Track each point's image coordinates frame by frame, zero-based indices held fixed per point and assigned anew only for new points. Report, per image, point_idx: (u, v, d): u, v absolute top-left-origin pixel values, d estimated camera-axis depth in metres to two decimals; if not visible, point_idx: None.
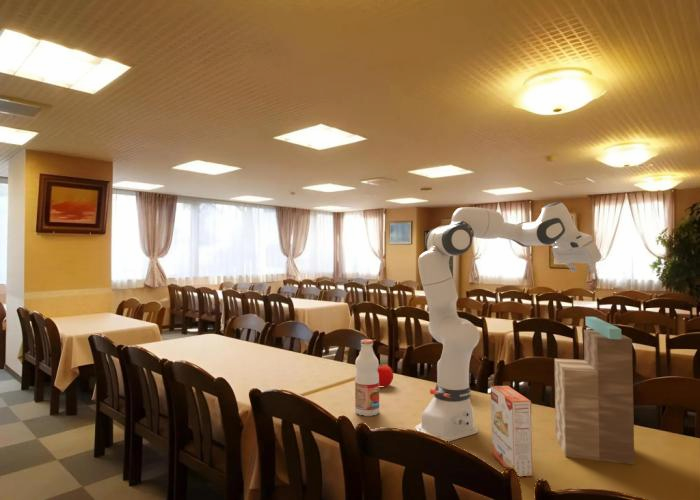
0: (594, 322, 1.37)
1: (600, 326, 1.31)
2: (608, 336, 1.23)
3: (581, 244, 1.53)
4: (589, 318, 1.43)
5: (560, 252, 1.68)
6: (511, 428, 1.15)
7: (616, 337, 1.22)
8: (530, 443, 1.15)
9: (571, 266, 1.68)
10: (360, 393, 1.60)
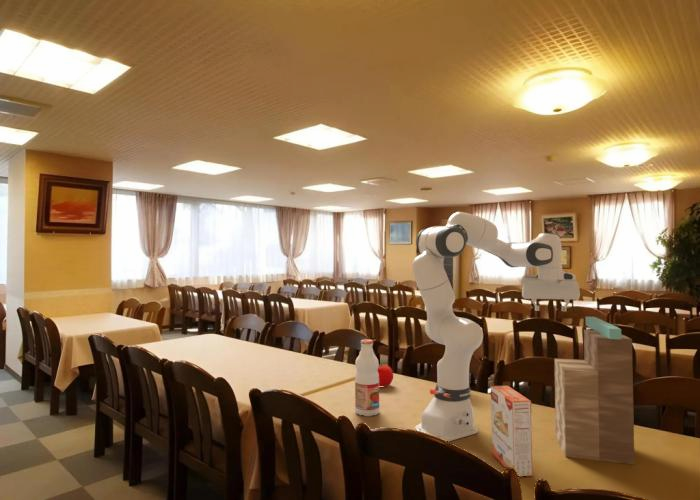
0: (594, 322, 1.37)
1: (600, 326, 1.31)
2: (608, 336, 1.23)
3: (575, 277, 1.57)
4: (589, 318, 1.43)
5: (534, 286, 1.63)
6: (511, 428, 1.15)
7: (616, 337, 1.22)
8: (530, 443, 1.15)
9: None
10: (360, 393, 1.60)
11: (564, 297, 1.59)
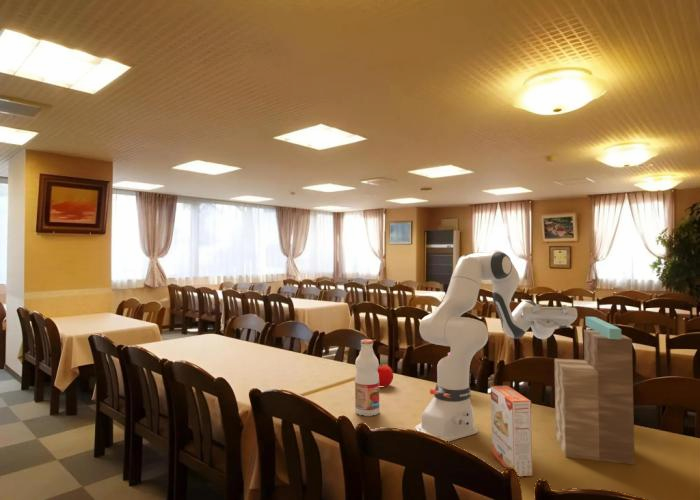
0: (594, 322, 1.37)
1: (600, 326, 1.31)
2: (608, 336, 1.23)
3: None
4: (589, 318, 1.43)
5: None
6: (511, 428, 1.15)
7: (616, 337, 1.22)
8: (530, 443, 1.15)
9: None
10: (360, 393, 1.60)
11: None
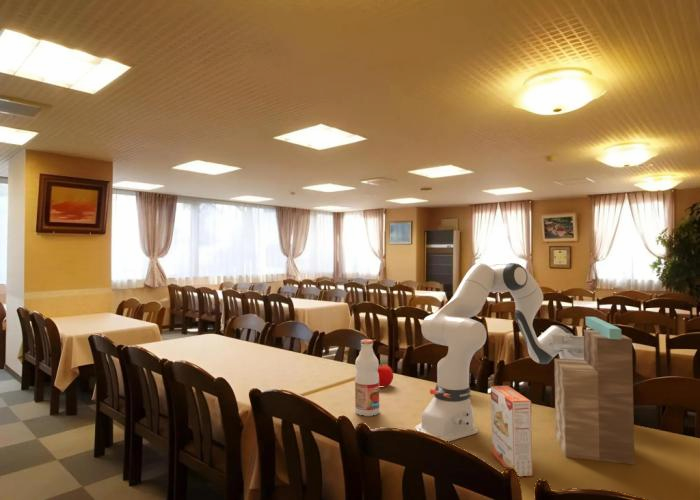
0: (594, 322, 1.37)
1: (600, 326, 1.31)
2: (608, 336, 1.23)
3: None
4: (589, 318, 1.43)
5: None
6: (511, 428, 1.15)
7: (616, 337, 1.22)
8: (530, 443, 1.15)
9: None
10: (360, 393, 1.60)
11: None
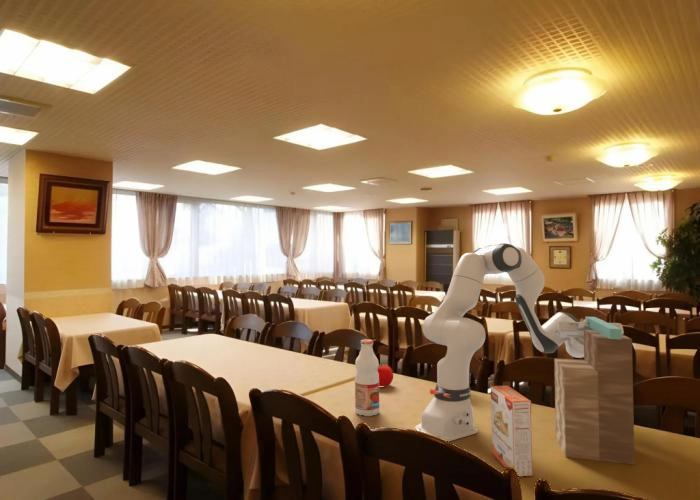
0: (594, 322, 1.37)
1: (600, 326, 1.31)
2: (608, 336, 1.23)
3: None
4: (589, 318, 1.43)
5: None
6: (511, 428, 1.15)
7: (616, 337, 1.22)
8: (530, 443, 1.15)
9: None
10: (360, 393, 1.60)
11: None
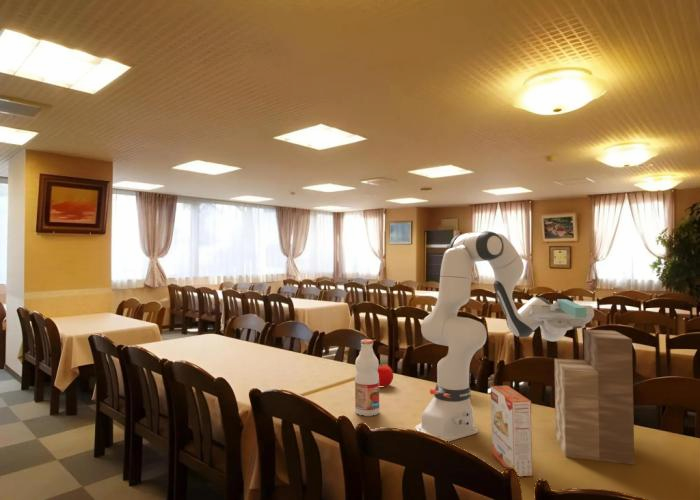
0: (564, 303, 1.39)
1: (568, 306, 1.33)
2: (574, 315, 1.26)
3: None
4: (560, 300, 1.45)
5: None
6: (511, 428, 1.15)
7: (581, 316, 1.24)
8: (530, 443, 1.15)
9: None
10: (360, 393, 1.60)
11: None
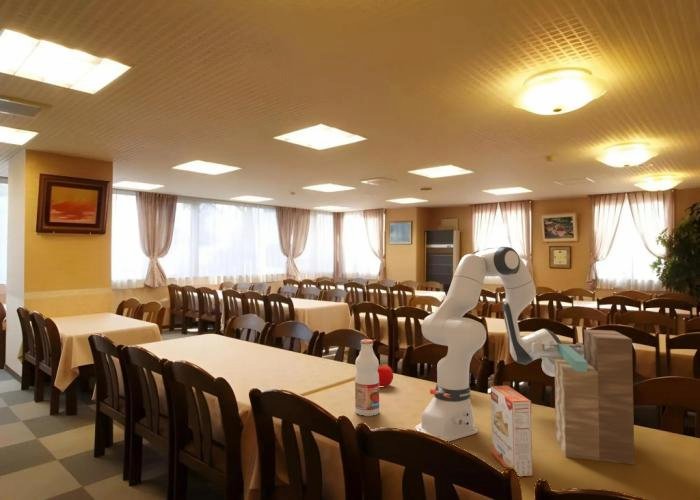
0: (564, 351, 1.39)
1: (569, 356, 1.33)
2: (575, 368, 1.26)
3: None
4: (560, 346, 1.45)
5: None
6: (511, 428, 1.15)
7: (582, 369, 1.24)
8: (530, 443, 1.15)
9: None
10: (360, 393, 1.60)
11: None
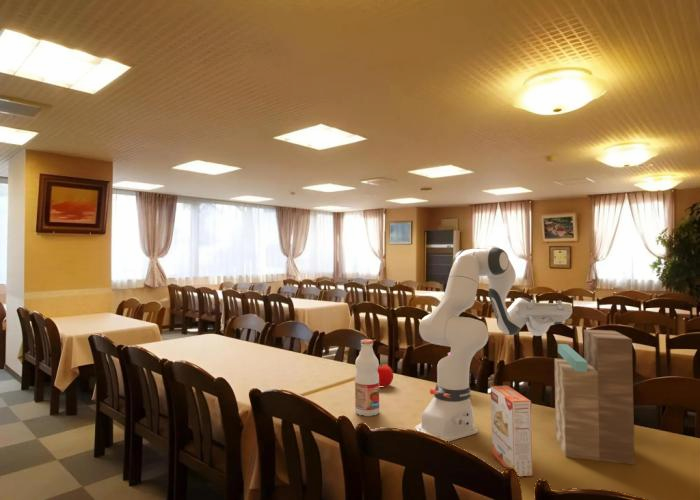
0: (564, 351, 1.39)
1: (569, 356, 1.33)
2: (575, 368, 1.26)
3: None
4: (560, 346, 1.45)
5: None
6: (511, 428, 1.15)
7: (582, 369, 1.24)
8: (530, 443, 1.15)
9: None
10: (360, 393, 1.60)
11: None
